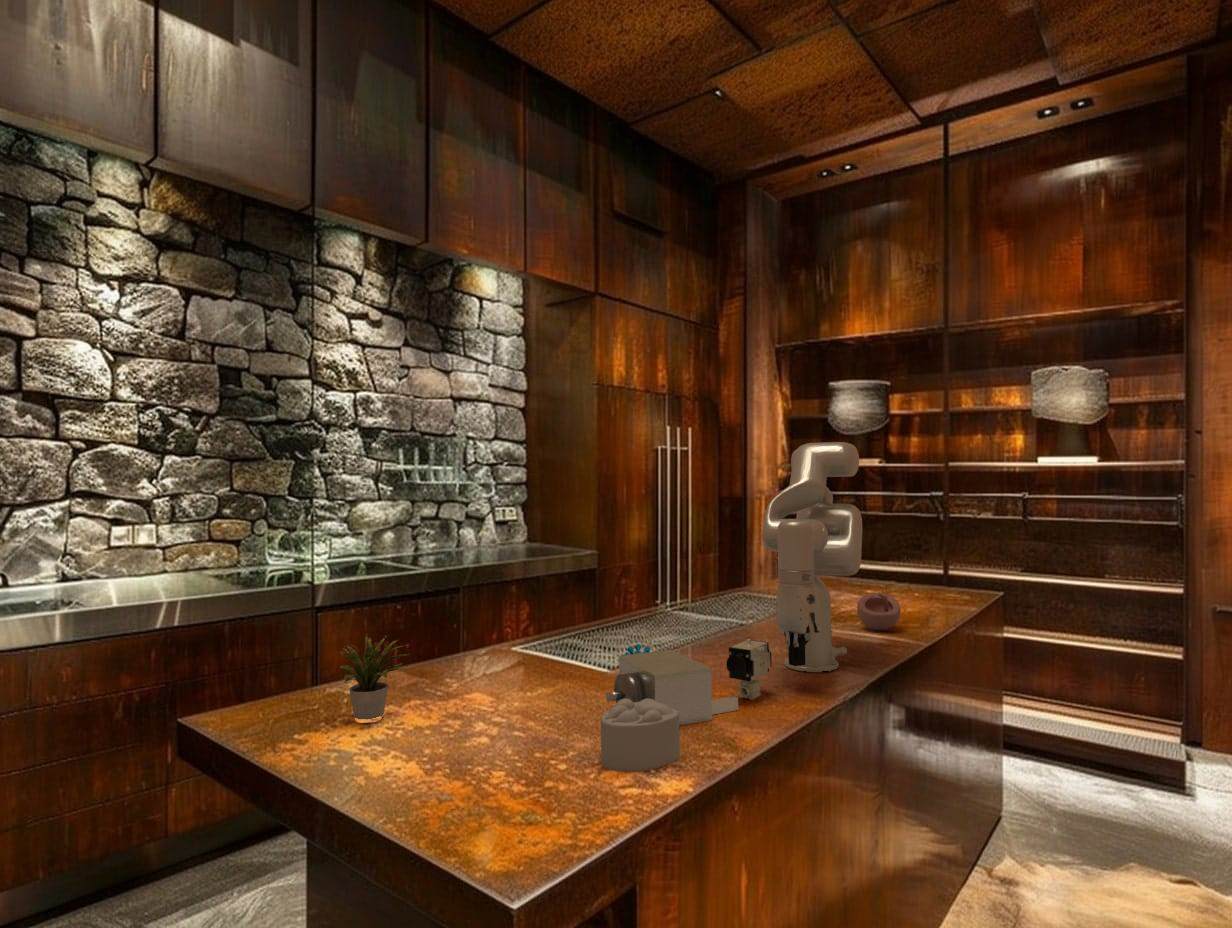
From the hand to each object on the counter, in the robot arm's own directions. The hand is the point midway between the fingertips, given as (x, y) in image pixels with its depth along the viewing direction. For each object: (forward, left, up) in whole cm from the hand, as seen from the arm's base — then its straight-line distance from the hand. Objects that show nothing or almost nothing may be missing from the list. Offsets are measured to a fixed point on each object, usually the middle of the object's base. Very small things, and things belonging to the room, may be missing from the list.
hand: (797, 664), depth 150 cm
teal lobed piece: (+25, -22, -6) cm, 34 cm away
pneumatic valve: (+11, -1, -6) cm, 13 cm away
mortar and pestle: (-60, -38, -6) cm, 71 cm away
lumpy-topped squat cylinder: (+46, +17, -6) cm, 50 cm away
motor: (+32, -1, -6) cm, 32 cm away
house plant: (+85, -21, -6) cm, 88 cm away
